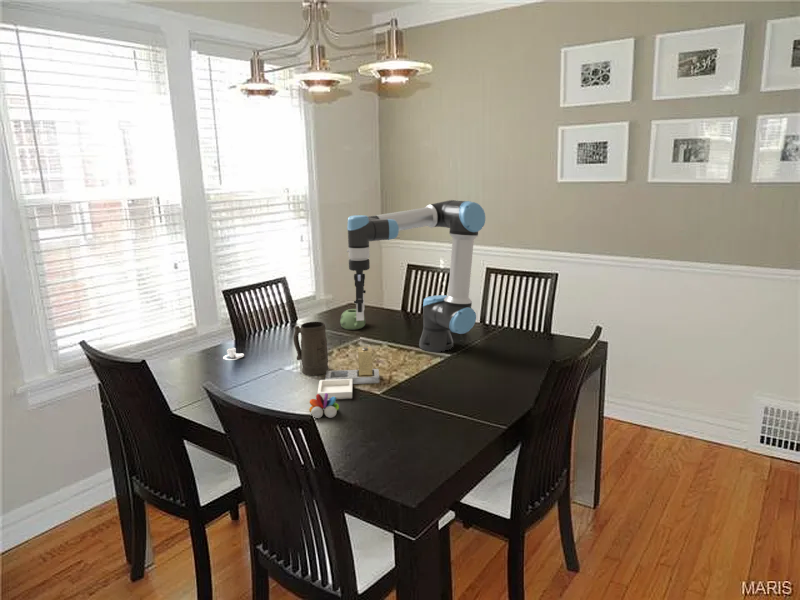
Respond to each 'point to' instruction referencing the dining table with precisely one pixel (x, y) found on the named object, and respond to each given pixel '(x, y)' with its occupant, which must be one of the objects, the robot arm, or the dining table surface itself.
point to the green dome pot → (351, 320)
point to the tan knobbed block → (365, 361)
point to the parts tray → (336, 388)
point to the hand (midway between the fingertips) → (360, 315)
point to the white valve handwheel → (232, 354)
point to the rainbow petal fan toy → (323, 406)
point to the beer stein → (312, 347)
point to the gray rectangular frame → (353, 376)
